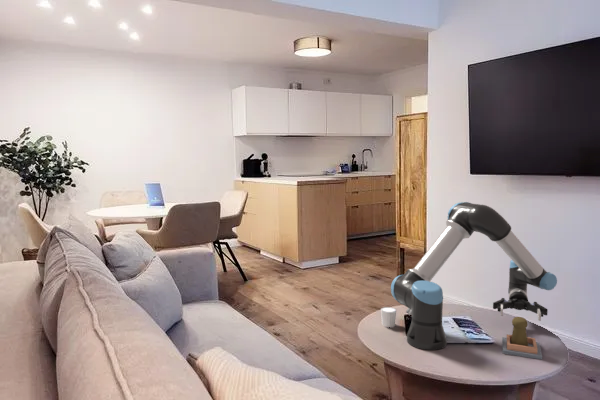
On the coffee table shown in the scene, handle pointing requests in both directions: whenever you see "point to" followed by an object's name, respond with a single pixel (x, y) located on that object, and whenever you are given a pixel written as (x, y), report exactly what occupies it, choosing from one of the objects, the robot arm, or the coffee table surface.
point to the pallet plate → (522, 348)
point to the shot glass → (388, 316)
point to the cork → (519, 331)
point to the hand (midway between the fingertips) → (520, 315)
